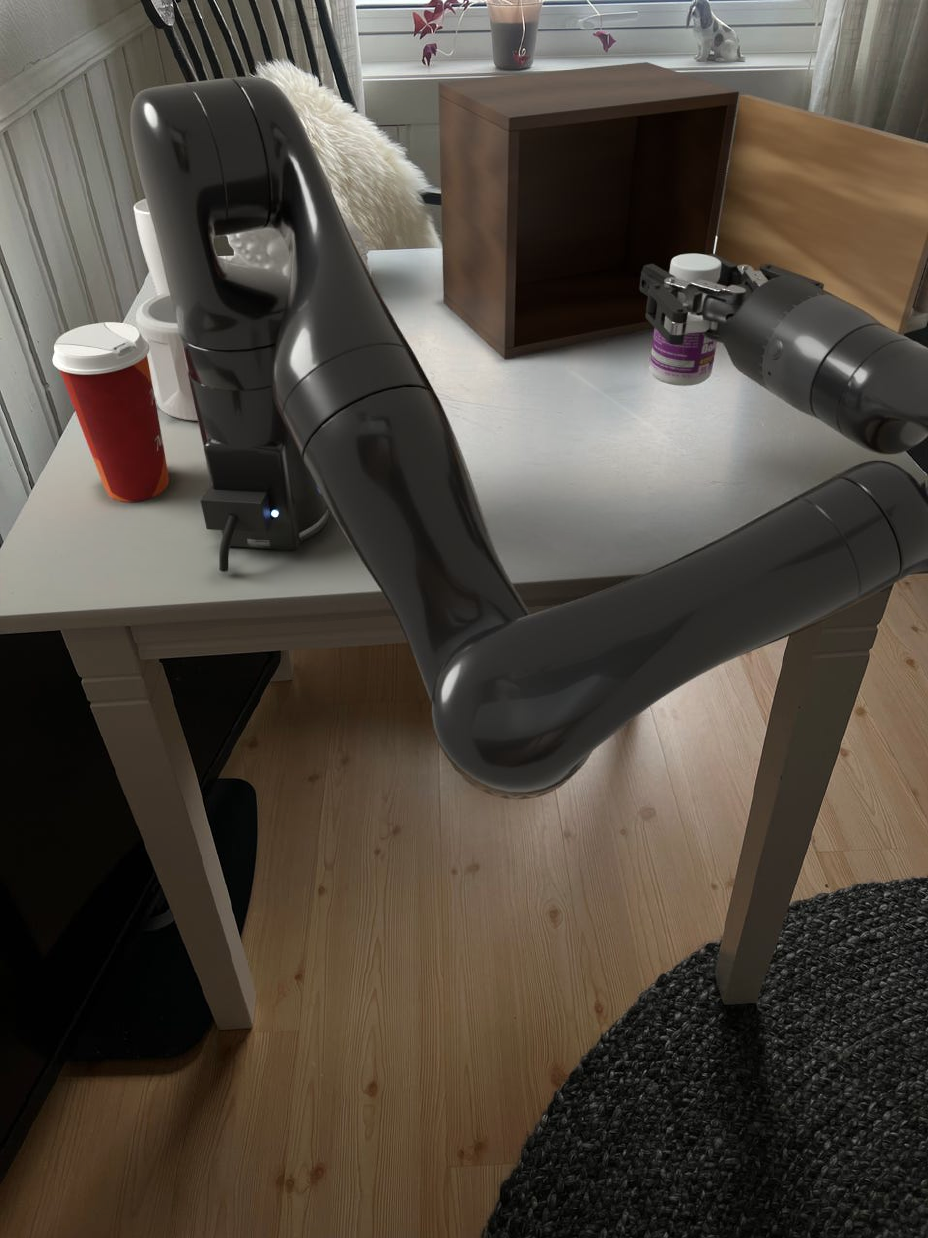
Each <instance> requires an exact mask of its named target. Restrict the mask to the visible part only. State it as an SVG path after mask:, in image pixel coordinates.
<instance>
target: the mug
mask: <svg viewBox="0 0 928 1238" xmlns="http://www.w3.org/2000/svg"><path fill="white" fill-rule="evenodd" d="M135 320H136V323H137V324H136V325H137V329H138V330H139V331H140V333H141V335H142V338H143V339H144V340H146V342H147V343H148V344H149V348H150V350H149V353H148V354H147V357H148V363H149V368H150V374H151V379H152V385H153V390H154V396H155V401H156V405H157V406H158V408H159V409H160V410H161V411H162V412H164V413H165V414H167V415H169V416H171V417H173V418H176V419H179V420H185V421H195V422H196V421H197V422H198V419H197V414H196V409H195V405H194V400H193V395H192V391H191V386H190V381H189V377H188V371H187V367H186V362H185V357H184V353H183V348H182V343H181V339H180V334H179V329H178V325H177V320H176V315H175V311H174V307H173V303H172V299H171V295H170V292H166V293H163V294H160V295H155V296H153V297H151V298H149V299H147V300H146V301H144V302H143V303H142V304H141V305H140V306H139V307H138V309H137V312H136V314H135Z"/></svg>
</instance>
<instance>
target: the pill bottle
mask: <svg viewBox="0 0 928 1238" xmlns="http://www.w3.org/2000/svg"><path fill="white" fill-rule="evenodd" d="M720 272H721V262H720V260H718V259H717V258H715V257H712V256H708V255H703V254H682V255H678V256H676V257H674V258H673V259H672V260H671V265H670V272H669V274H671V275H673V276H674V277H676V278H677V279H681V280H684V281H687V282H691V283H692V282H694V281H696V280H698V279H703V280H707V281H710V282H714V283H717V282H718V280H719V278H720ZM706 295H707V294H704V293H703V296H702V302H701V309H700V314H701V316H702V309H703V303H704V299H705V297H706ZM678 300H679V301H680V302H681V303H682V304H683V303H685V300H686V296H685V294H684V293H681V292H678ZM651 343H652V344H651V352H650V358H649V366H648V369H649V373H650V374H651V376H652V377H653V378H654V379H656V380H658V381H659V382H661V383H665V384H667V385H672V386H678V387H679V386H680V387H689V386H690V387H692V386H696V385H699V384H702V383H703V382H705V381H706V380H708V379H709V378H710V376H711V374H712V371H713V367H714V362H715V355H716V349H717V344H718V341H715V340H711V339H708V338H706V337H705V336H704V335H703V334H702V332H700V333H689V334H685V337H684V343H683V344H681V345H672V344H669V343H668V342H667V341H666V340H665V339H664V338H663V336H662V335H661V334H660V333H659V332H658V331H657V330H656V329H655V327H654V329H653V337H652V342H651Z"/></svg>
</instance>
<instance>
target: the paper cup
mask: <svg viewBox="0 0 928 1238" xmlns="http://www.w3.org/2000/svg"><path fill="white" fill-rule="evenodd" d="M53 350H54V353H53V354H52V355H53V356H52V364H53V366H54V367H55V368H57V369H58V370H59V372H60V375H61V377H62V380H63V383H64V385H65V387H66V390H67V393H68V396H69V398H70V401H71V404H72V406H73V409H74V411H75V414H76V417H77V419H78V422H79V425H80V428H81V430H82V433H83V437H84V439H85V441H86V443H87V446H88V449H89V451H90V455H91V457H92V459H93V462H94V464H95V468H96V469H97V472H98V475H99V477H100V480H101V482H102V485H103V487H104V489H105V492H106V494H107V495H108V496H109V497H110V498H111V499H113V500H115V501H118V502H124V503H125V502H126V503H133V502H134V503H135V502H141V501H146V500H149V499H151V498H155V497H156V496H159V495H160V494H161V493H162V492H164V491H165V490H166V489H167V487H168V486H169V482H170V480H169V471H168V464H167V459H166V452H165V446H164V441H163V440H164V439H163V435H162V430H161V424H160V419H159V413H158V407H157V401H156V398H155V394H154V390H153V385H152V379H151V374H150V368H149V363H148V357H147V354H148V353H149V350H150V348H149V344H148V343H147V342H146V340H144V339H143V338H142V335H141V333H140V331H139V329H138V327H135V326H134V325H131V324H128V323H125V322H114V321H105V322H98V323H96V322H95V323H91V324H85V325H82V326H78V327H75V328H72V329H70V330H68V331H66V332H64V333H62V334H61V335H60V336H59V337H58V338H57V339H56V341H55V343H54V346H53Z"/></svg>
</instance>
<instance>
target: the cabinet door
mask: <svg viewBox="0 0 928 1238" xmlns="http://www.w3.org/2000/svg"><path fill="white" fill-rule="evenodd" d="M714 254H716V255H718V256H720V257H721V258H723V259H725V260H727V261H729V262H731V263H733V264H735V265H736V266H738V265H743V264H746V265H749V266H751V267H752V268H753V269H754V270H755V271H759V269H760V265H762V264H771V265H774V266H777V267H780V268H782V269H785V270H788V271H791V272H794V273H796V274H799V275H802V276H805V277H807V278H810V279H813V280H816V281H819V282H821V283H823V284H824V288H823V290H825V291H827V292H829V293H831V294H833V295H835V296H837V297H839V298H841V299H843V300H845V301H847V302H849V303H851V304H853V305H855V306H857V307H858V308H860V309H862V310H864V311H865V312H867V313H869V314H870V315H871V316H873V317H874V318H875V319H876V320H878V321H879V322H880V323H882V324H883V325H885V326H886V327H888V328H890V329H892V330H894V331H896V332H898V333H899V334H901V335H903V336H905V334H907V333H911V332H915V331H918V330H922V329H924V328H926V327H927V323H928V142H924V141H920V140H916V139H913V138H909V137H905V136H903V135H898V134H895V133H891V132H887V131H884V130H880V129H877V128H873V127H869V126H866V125H862V124H858V123H855V122H851V121H848V120H844V119H840V118H836V117H833V116H829V115H825V114H821V113H819V112H814V111H810V110H806V109H803V108H799V107H795V106H793V105H789V104H785V103H781V102H778V101H774V100H771V99H767V98H763V97H759V96H756V95H752V94H749V93H747V94H745V93H744V94H739V99H738V105H737V111H736V117H735V123H734V130H733V136H732V142H731V148H730V154H729V161H728V167H727V173H726V179H725V185H724V192H723V198H722V204H721V210H720V216H719V223H718V229H717V235H716V241H715V247H714ZM773 279H774V278H773Z"/></svg>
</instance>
